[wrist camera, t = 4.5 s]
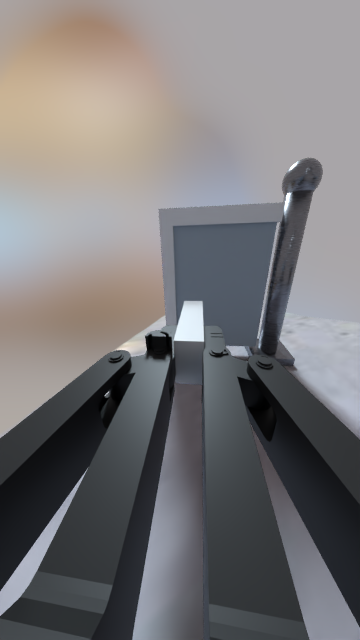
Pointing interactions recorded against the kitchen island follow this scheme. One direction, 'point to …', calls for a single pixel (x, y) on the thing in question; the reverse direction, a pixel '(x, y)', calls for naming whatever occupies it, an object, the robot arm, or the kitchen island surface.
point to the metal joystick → (286, 257)
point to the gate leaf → (219, 264)
